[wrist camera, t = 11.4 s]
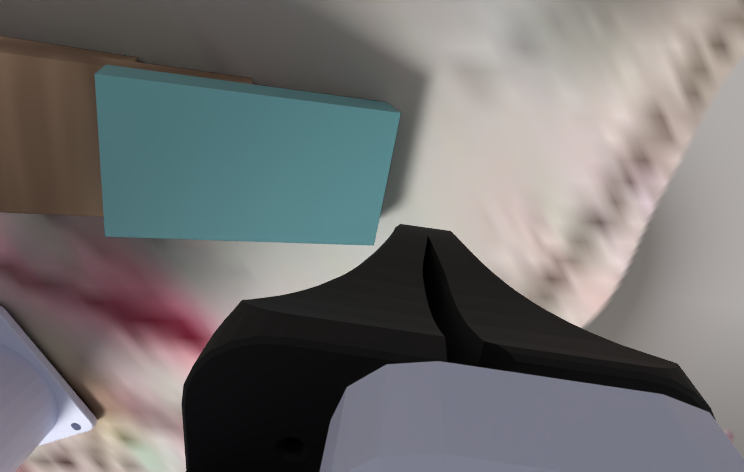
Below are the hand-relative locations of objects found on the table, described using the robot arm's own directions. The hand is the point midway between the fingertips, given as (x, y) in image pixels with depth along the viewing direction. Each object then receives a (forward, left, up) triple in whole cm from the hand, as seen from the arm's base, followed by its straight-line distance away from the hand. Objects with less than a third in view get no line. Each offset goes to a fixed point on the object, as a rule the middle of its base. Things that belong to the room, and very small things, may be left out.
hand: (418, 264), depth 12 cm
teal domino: (-1, +1, -6) cm, 7 cm away
